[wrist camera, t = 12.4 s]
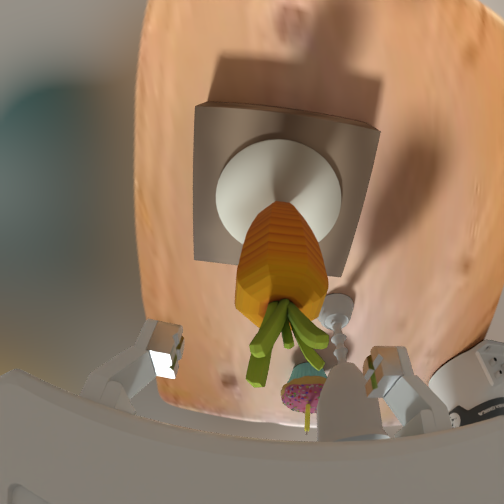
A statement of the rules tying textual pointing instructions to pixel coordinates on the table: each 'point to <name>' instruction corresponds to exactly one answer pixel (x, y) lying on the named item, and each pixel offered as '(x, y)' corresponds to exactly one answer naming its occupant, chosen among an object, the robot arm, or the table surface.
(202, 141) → the walnut plinth
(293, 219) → the carrot
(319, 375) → the cupcake
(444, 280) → the table surface
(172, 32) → the table surface
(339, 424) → the chalice
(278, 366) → the table surface
